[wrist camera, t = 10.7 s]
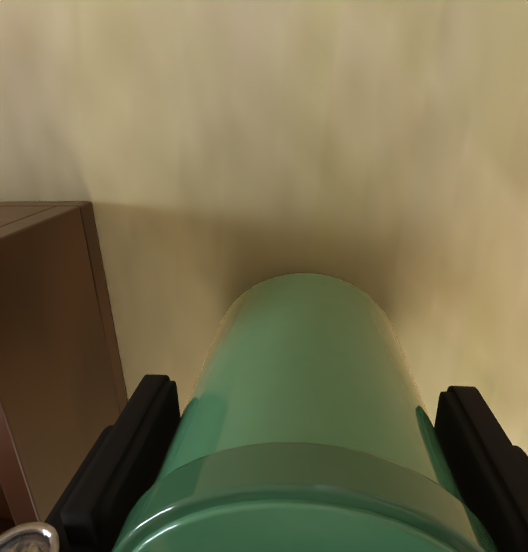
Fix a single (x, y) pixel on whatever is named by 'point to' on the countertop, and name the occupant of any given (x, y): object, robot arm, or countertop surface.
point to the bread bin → (51, 353)
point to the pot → (304, 438)
